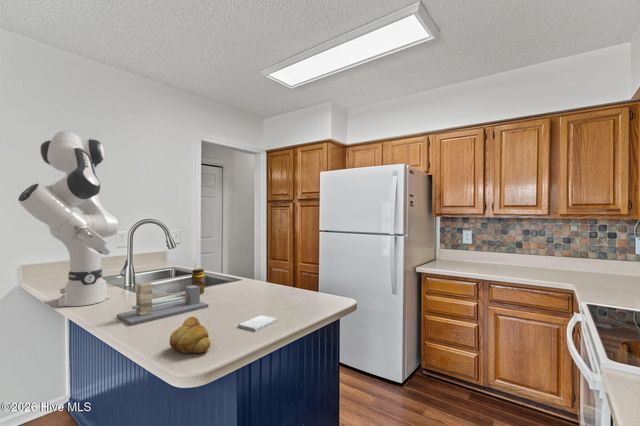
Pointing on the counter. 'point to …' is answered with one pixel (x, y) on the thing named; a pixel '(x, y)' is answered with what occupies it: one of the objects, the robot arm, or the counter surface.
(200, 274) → the condiment
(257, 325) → the hard drive
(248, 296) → the counter surface
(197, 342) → the bread roll
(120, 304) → the counter surface
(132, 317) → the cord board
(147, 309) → the notched wooden block
